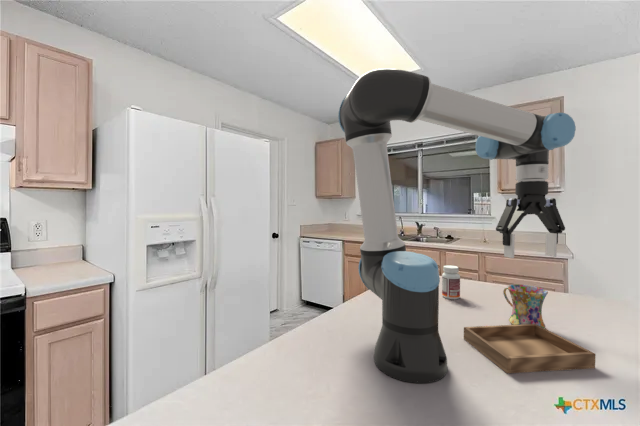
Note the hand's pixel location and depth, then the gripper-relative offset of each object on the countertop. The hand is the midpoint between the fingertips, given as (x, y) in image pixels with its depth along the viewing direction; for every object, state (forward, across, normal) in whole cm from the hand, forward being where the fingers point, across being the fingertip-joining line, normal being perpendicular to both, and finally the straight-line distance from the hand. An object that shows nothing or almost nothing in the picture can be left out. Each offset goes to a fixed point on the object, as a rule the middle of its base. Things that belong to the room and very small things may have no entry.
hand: (530, 256), depth 84 cm
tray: (+20, -15, -13) cm, 28 cm away
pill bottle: (+20, -6, +27) cm, 34 cm away
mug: (+20, -2, +1) cm, 20 cm away
